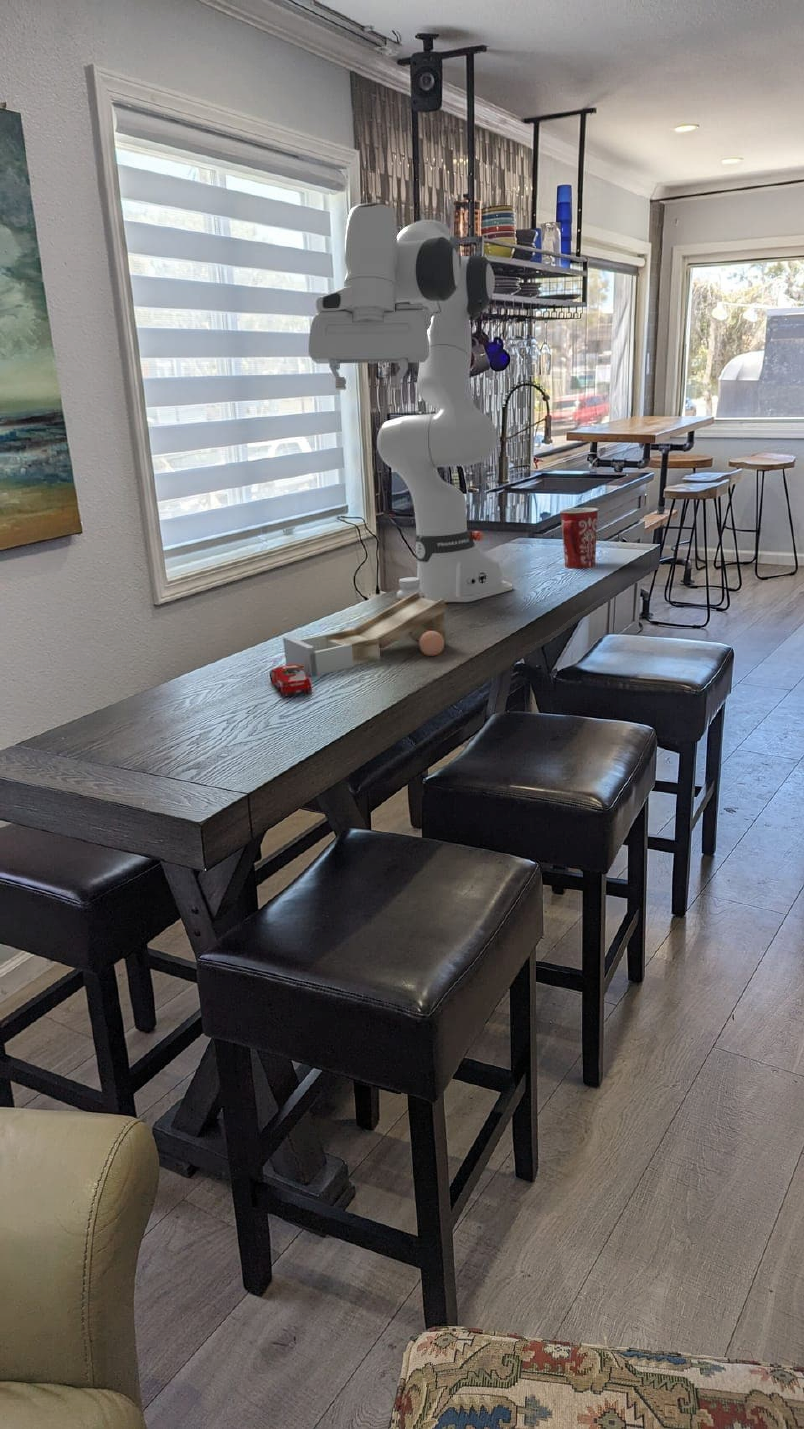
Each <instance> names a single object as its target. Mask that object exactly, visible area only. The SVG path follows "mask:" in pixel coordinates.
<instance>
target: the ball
mask: <svg viewBox="0 0 804 1429" xmlns="http://www.w3.org/2000/svg"><path fill="white" fill-rule="evenodd" d="M418 645H419V649H420V651H421V652H422V653H424V654H425V655H426V656H430V657H431V656H432V657H433V656H437V655H439V654H440V653H441V652H442V651H443V650H444V646H445V644H444V639H443V637H442V636H441V634H439V633H438V632H436V631H428V632H425V633H424V634H423V635H422V636H421V638H420V641H419V640H418Z"/></svg>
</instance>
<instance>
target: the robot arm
mask: <svg viewBox="0 0 804 1429" xmlns="http://www.w3.org/2000/svg"><path fill="white" fill-rule="evenodd" d="M396 217H397V216H396V213H395V208H394V207H392V206H391V205H389V204H385V203H383V202H369V203H368V202H367V203H361V204H357V205H355V206H354V207H352V208H351V209H350V210H349V214H348V218H347V222H346V223H347V225H346V230H345V241H344V242H345V243H344V262H345V265H346V273H345V274H346V275H345V278H344V282H343V288H341V289H338V290H335V291H333V292H330V293H328V294H325V295H323V296H319V297H318V298H317V299H316V301H315V306H316V311H317V314H316V315H315V316H314V317H313V319H312V321H311V324H310V329H309V330H310V331H309V338H308V355H309V357H310V358H311V360H312V361H313V362H314V363H315V364H319V365H320V364H323V365H325V364H326V365H327V364H328V365H329V369H330V371H331V372H332V374H333V376H334V378H335V389H336V390H337V391H345V390H347V386H346V384H347V379H346V378H345V377H344V376H341V375H340V374H339V372H338V370H340V369H341V364H387V363H388V364H389V363H390V364H393V363H396V364H397V366H398V367H399V370H398V371H397V374H396V375H395V376H394V375H393V376H391V377H390V389H391V390H401V389H402V379H403V378H404V376H405V375H406V373H407V371H408V369H409V363H419V364H418V369H417V370H418V373H417V381H416V388H417V392H418V395H419V396H420V398H421V399H422V400H423V401H424V402H425V403H426V404H428V405H430V406H431V407H433V408H435V409H438V412H434V413H428V414H426V413H425V414H412V415H411V414H410V415H403V416H400V417H396V418H392V419H390V420H386V421H385V422H383V424H382V425H381V427H380V429H379V431H378V434H377V438H376V447H377V451H378V455H379V456H380V458H381V460H382V461H383V463H385V464H386V465H387V466H388V467H389V468H391V469H392V470H394V471H395V472H396V473H397V474H398V475H399V476H400V478H402V480H403V482H404V483H405V485H406V487H407V488H408V491H409V494H410V496H411V500H412V505H413V510H414V511H413V513H414V519H415V527H416V528H415V529H416V533H415V534H414V546H415V555H416V559H417V573H416V577H417V578H419V579H420V586H419V588H420V589H422V590H423V591H424V596H425V599H428V600H432V601H435V602H436V601H437V600H439V599H441V598H442V599H444V602H445V603H469V602H474V601H477V600H480V599H483V598H488V597H491V596H495V595H498V594H501V593H505V592H509V591H512V590H514V588H513V586H514V585H513V584H512V583H511V582H509V581H507V580H503V575H502V570H501V566H500V565H499V563H498V561H497V560H496V559H494V558H493V557H491V556H489V555H488V554H487V553H485V551H483V550H481V549H480V548H478V547H477V546H476V544H475V542H474V541H477V542H480V541H481V542H482V541H483V539H484V533H483V532H482V531H478V530H475V531H471V530H470V529H468V526H467V525H468V524H467V505H466V504H467V503H466V498H465V496H464V493H463V492H462V490H460V488H458V487H456V486H455V485H453V484H451V483H449V482H447V481H445V480H444V479H443V478H442V477H441V475H440V474H439V471H438V468H445V467H447V468H449V467H450V468H452V467H466V466H471V465H476V464H479V463H482V462H483V463H484V462H486V461H488V460H489V458H490V457H491V456H492V455H493V453H494V451H495V449H496V445H497V431H496V428H495V425H494V423H493V421H492V420H491V418H489V416H488V415H487V414H485V413H483V412H482V411H480V410H479V408H478V407H477V406H476V405H475V404H474V402H473V400H472V397H471V394H470V374H471V362H472V345H473V344H472V333H471V324H470V318H472V320H477V319H478V318H479V317H480V315H481V313H482V312H483V311H485V309H486V308H487V307H488V306H489V304H490V303H491V301H492V298H493V294H494V291H495V284H496V283H495V281H496V280H495V274H494V270H493V268H492V263H491V262H490V261H489V259H488V258H487V257H486V256H482V255H478V254H477V255H475V254H470V255H469V256H464V255H461V246H460V243H459V241H458V239H457V238H456V237H455V236H454V233H453V231H452V229H451V228H449V227H448V225H446V224H445V223H444V222H441V221H439V220H435V219H422V220H418V221H415V222H412V223H410V224H409V225H407V226H405V227H404V228H403V229H402V230H400V232H398V228H397V218H396Z"/></svg>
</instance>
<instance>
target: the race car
mask: <svg viewBox="0 0 804 1429" xmlns="http://www.w3.org/2000/svg"><path fill="white" fill-rule="evenodd" d="M302 668H303V666H299V665H298V664H293V665H286V664H285V665H281V666H278V667H274V668H272V669H271V670H270V671H269V678H270V683H271V684H272V685H273V686H274V688H275V689H276V691H277V692H278V693H279V695H280V696H281V697H289V696H290V697H293V696H297V695H302V694H308V693H312V692H313V688H312V682H311V679H310V676H308V675H306V674H305V672H304V671H303V670H302Z"/></svg>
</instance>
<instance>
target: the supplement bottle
mask: <svg viewBox="0 0 804 1429" xmlns="http://www.w3.org/2000/svg"><path fill="white" fill-rule="evenodd" d="M398 580H399V581H398V582H399V583H398V584H399V588H400V589H399V590H398V591H397V592H396V601H397V602H399V601H401V600H402V599H404V598H406V597H408V596H409V595H411V594H413V593H414V592H418V593H419V595H420V597H421V598H425V596H424V591H423V590H422V589H420V588H419V586H420V579H419V578H417V576H416V577H414V576H413V577H412V576H411V577H409V576H408V577H404V578H400V579H398ZM397 602H396V603H397Z"/></svg>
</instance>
